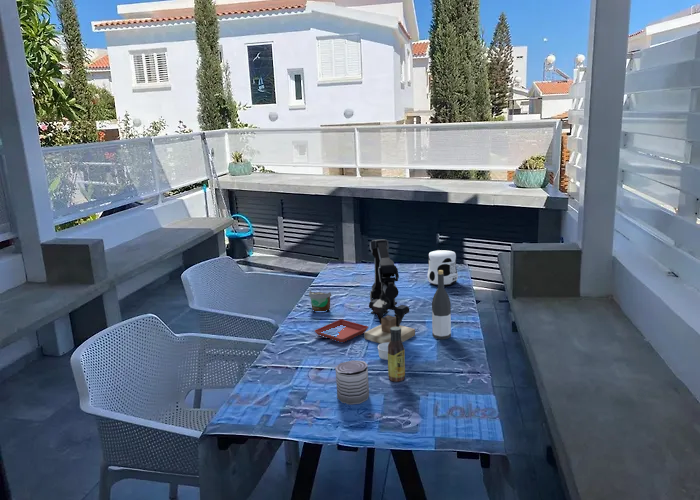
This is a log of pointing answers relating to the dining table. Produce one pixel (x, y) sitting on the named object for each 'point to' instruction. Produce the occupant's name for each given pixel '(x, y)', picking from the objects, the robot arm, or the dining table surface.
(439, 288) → the wine bottle
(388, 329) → the walnut block
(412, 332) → the birch base
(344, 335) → the plant saucer
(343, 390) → the can
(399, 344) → the sauce bottle
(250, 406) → the dining table surface
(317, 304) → the food container
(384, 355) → the ramekin
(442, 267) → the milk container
